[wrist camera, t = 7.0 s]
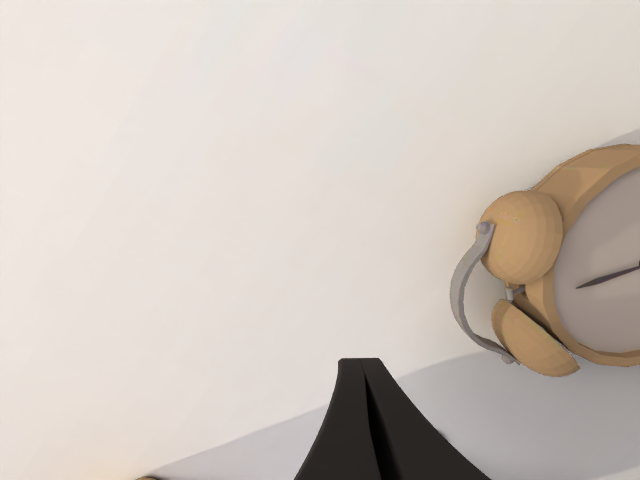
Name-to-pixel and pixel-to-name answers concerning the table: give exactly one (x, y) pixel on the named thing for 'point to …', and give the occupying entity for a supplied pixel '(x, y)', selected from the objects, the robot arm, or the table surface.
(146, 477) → the boot
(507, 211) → the alarm clock
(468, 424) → the table surface
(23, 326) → the table surface
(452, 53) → the table surface
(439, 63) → the table surface
